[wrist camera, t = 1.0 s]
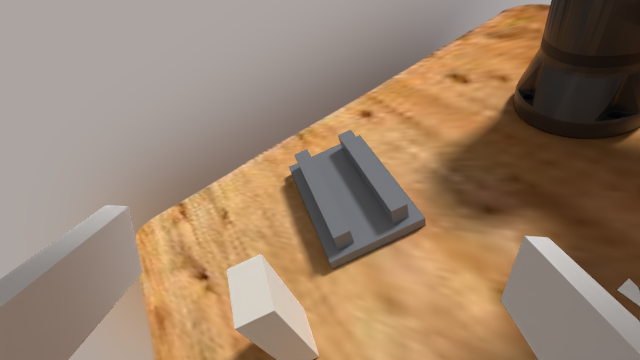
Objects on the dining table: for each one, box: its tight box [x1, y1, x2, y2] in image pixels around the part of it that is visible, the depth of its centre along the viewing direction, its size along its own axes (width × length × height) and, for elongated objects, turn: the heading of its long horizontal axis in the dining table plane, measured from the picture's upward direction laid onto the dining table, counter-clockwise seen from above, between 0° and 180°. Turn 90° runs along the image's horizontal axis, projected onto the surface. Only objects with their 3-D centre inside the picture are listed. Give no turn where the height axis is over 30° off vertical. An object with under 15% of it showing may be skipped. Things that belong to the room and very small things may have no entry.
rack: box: [289, 130, 425, 268], centre depth 42 cm, size 12×18×4 cm, turn 19°
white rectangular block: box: [227, 254, 319, 360], centre depth 28 cm, size 3×5×12 cm, turn 20°
